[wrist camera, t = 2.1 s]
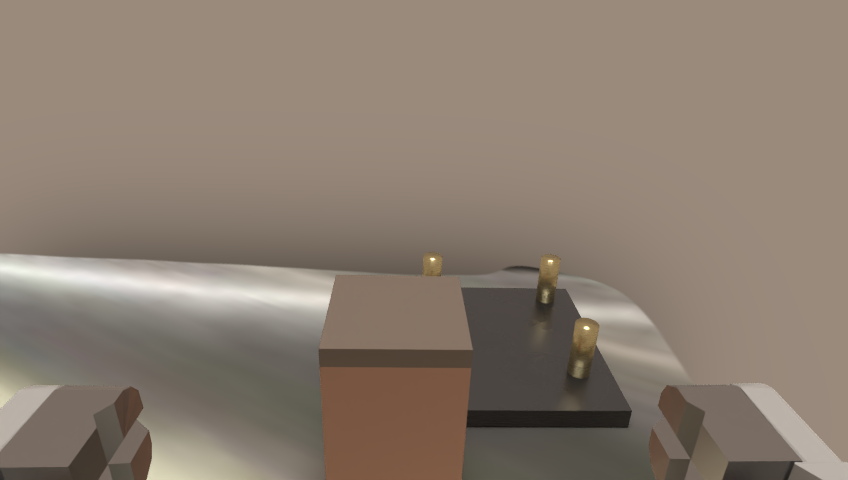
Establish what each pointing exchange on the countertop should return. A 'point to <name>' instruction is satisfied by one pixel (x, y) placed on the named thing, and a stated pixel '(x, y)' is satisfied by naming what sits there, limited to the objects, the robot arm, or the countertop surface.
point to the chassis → (535, 357)
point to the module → (395, 378)
